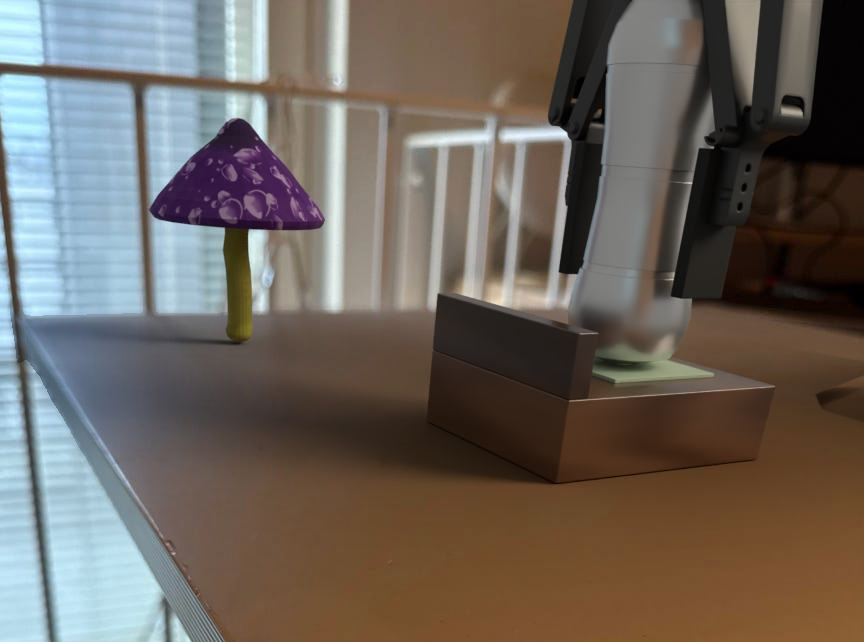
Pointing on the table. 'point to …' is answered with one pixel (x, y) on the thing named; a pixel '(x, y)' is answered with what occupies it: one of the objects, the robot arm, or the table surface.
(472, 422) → the metal stand with backrest
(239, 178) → the decorative mushroom
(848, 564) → the table surface
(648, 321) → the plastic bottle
